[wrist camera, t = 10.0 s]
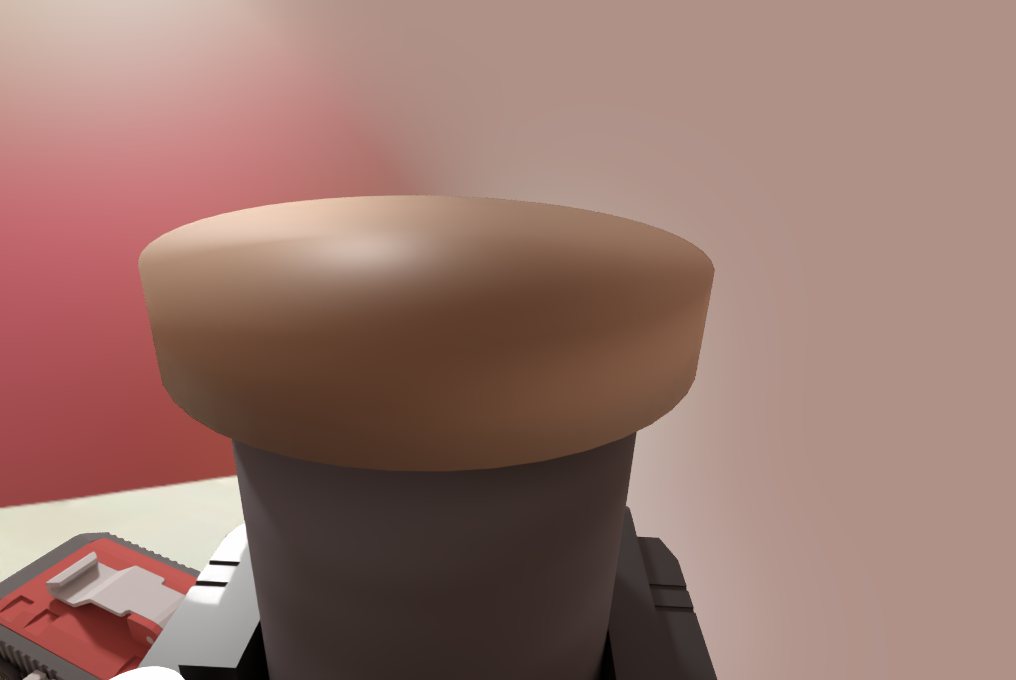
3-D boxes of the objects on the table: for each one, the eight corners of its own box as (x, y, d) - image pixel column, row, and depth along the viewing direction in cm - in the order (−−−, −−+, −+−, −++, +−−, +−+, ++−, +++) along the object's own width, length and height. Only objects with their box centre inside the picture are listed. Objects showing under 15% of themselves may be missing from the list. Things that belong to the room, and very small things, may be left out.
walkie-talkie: (-101, 692, 26) (263, 938, 19) (-139, 616, 24) (245, 857, 17) (99, 558, 33) (409, 699, 26) (80, 493, 31) (407, 626, 25)
